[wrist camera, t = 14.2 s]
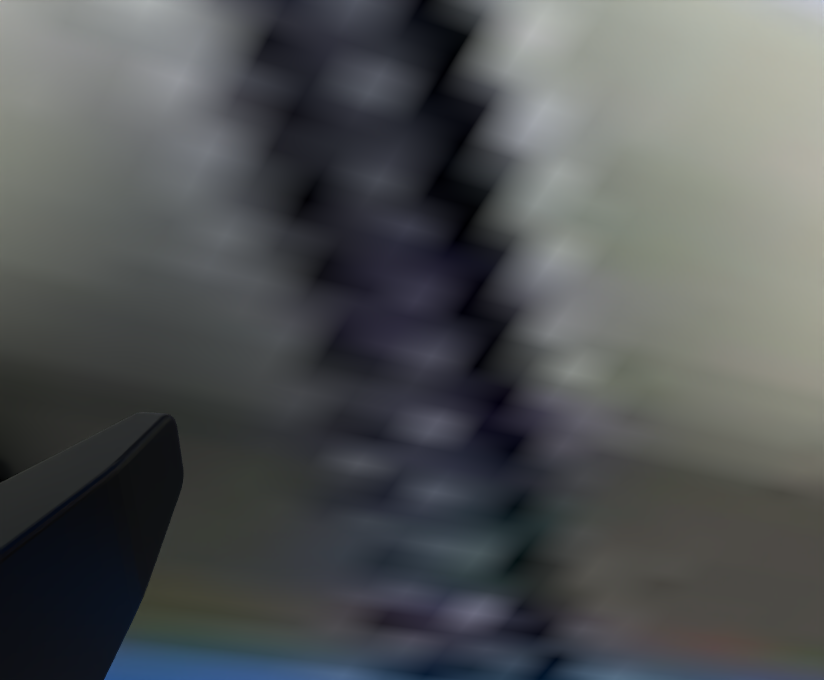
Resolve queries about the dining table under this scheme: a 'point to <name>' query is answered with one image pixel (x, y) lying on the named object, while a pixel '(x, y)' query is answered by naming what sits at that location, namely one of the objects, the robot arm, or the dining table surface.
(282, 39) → the dining table surface
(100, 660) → the robot arm
